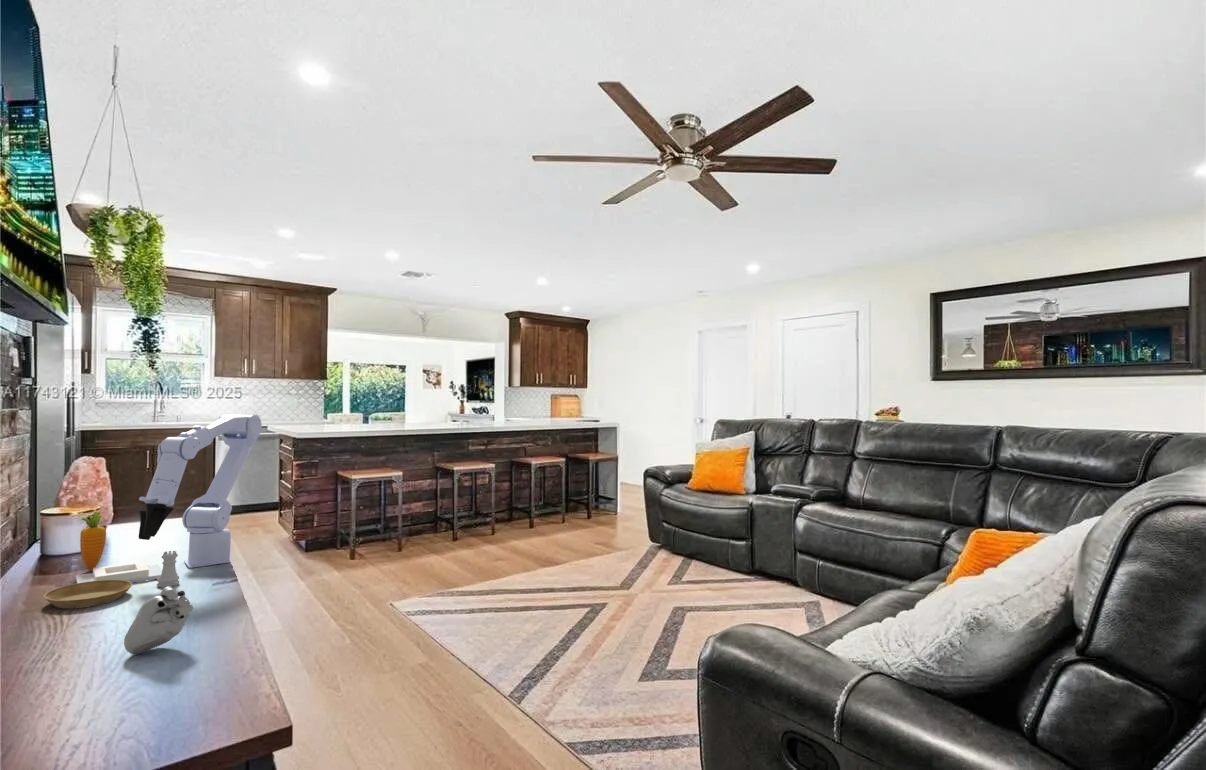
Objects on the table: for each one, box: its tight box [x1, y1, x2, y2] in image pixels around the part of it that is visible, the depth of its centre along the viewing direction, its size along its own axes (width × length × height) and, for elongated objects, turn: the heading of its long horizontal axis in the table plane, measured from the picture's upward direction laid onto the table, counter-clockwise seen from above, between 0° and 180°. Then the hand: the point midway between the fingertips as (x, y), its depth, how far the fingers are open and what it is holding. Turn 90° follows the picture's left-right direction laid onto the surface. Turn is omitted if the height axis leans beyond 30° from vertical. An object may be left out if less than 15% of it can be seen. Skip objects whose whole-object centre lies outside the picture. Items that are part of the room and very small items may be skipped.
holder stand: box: [75, 560, 163, 584], centre depth 142 cm, size 16×12×2 cm
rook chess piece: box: [156, 550, 180, 589], centre depth 139 cm, size 4×4×8 cm
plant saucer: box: [43, 580, 133, 609], centre depth 127 cm, size 15×15×3 cm
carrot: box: [79, 511, 107, 572], centre depth 148 cm, size 5×5×15 cm
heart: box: [123, 586, 194, 656], centre depth 103 cm, size 10×10×12 cm
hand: (146, 537), depth 138 cm, fingers open, 7 cm apart
